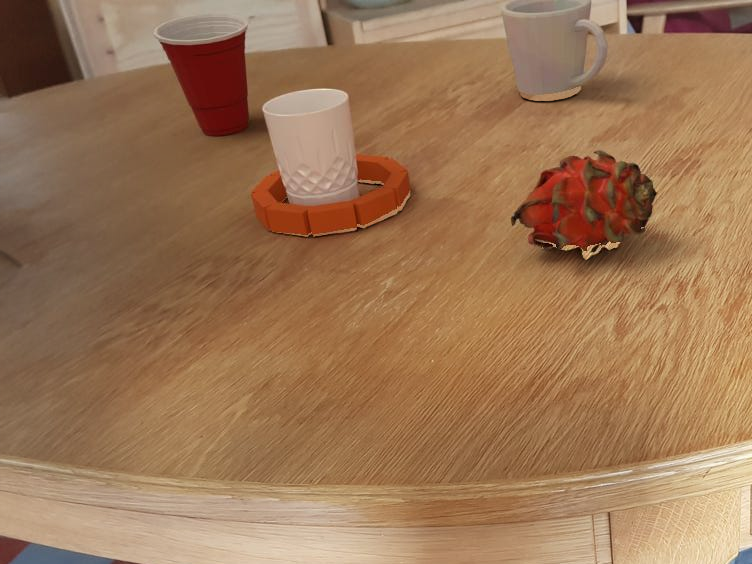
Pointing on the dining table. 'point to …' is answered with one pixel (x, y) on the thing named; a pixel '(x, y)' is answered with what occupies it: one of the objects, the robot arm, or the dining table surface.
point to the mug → (551, 44)
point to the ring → (333, 214)
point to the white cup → (314, 145)
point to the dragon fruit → (587, 203)
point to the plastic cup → (210, 68)
